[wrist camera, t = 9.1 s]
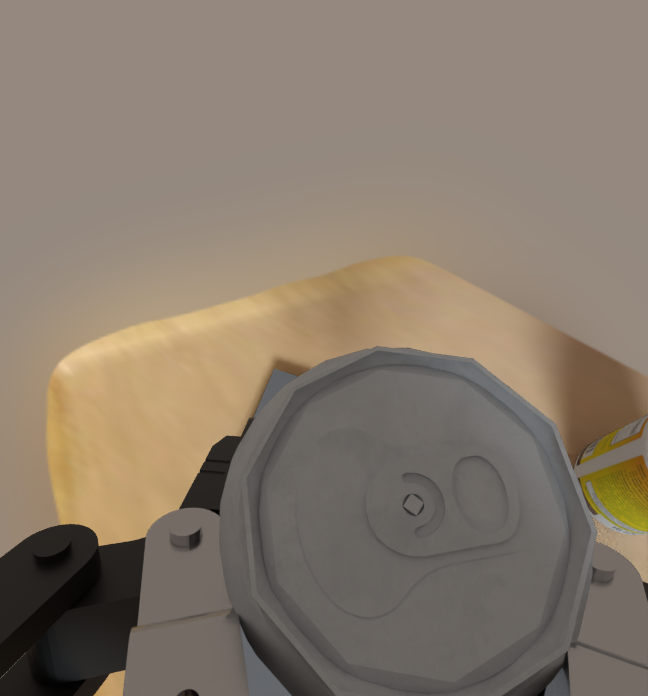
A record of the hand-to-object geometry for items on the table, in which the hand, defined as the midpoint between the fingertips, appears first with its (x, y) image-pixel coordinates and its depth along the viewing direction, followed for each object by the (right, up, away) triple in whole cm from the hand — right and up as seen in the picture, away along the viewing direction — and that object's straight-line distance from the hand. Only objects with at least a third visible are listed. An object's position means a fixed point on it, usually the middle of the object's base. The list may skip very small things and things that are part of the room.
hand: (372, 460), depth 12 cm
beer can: (0, -4, +5) cm, 6 cm away
